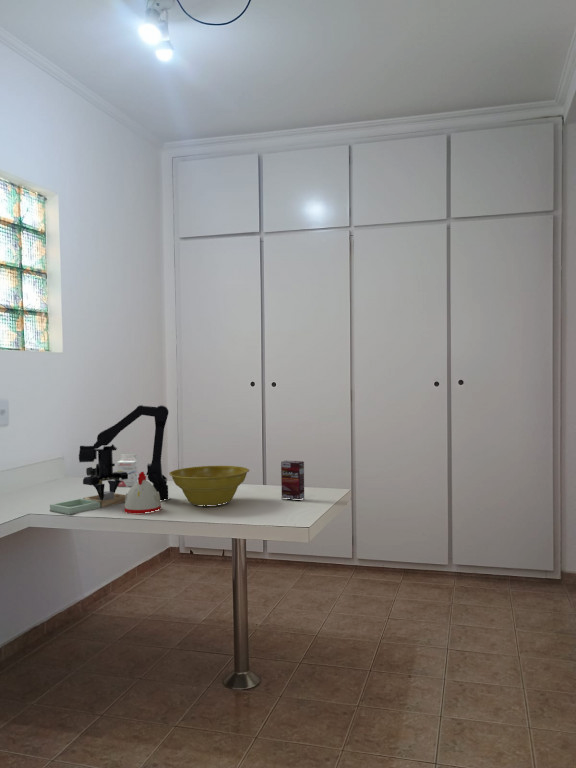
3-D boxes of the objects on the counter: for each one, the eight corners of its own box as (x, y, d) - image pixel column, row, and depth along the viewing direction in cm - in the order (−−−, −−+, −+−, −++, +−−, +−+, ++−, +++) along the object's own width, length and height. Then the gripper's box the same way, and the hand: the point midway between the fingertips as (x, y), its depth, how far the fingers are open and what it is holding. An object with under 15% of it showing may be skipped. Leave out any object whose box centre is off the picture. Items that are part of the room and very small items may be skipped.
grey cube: (114, 501, 274) (114, 492, 274) (105, 503, 271) (105, 493, 271) (107, 500, 277) (107, 491, 277) (98, 502, 274) (98, 492, 273)
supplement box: (281, 500, 273) (280, 461, 272) (286, 498, 277) (285, 460, 276) (299, 501, 269) (299, 462, 268) (305, 499, 273) (304, 461, 272)
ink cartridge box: (116, 486, 312) (116, 455, 311) (120, 484, 317) (119, 454, 316) (134, 486, 311) (133, 455, 311) (138, 484, 316) (137, 454, 315)
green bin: (100, 508, 264) (100, 501, 264) (69, 514, 253) (69, 508, 253) (80, 504, 272) (80, 498, 272) (50, 510, 261) (49, 504, 260)
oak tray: (130, 501, 276) (130, 495, 276) (102, 507, 264) (102, 501, 264) (110, 498, 284) (110, 492, 283) (82, 504, 272) (82, 498, 272)
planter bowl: (164, 499, 278) (163, 467, 278) (238, 493, 289) (237, 462, 288) (177, 515, 248) (176, 479, 247) (259, 507, 258) (259, 473, 258)
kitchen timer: (120, 514, 252) (118, 475, 252) (130, 506, 266) (129, 469, 265) (156, 514, 251) (155, 474, 251) (164, 506, 265) (163, 469, 265)
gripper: (111, 457, 286) (112, 493, 286) (74, 462, 271) (75, 500, 271) (128, 459, 279) (129, 495, 279) (91, 464, 264) (92, 503, 265)
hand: (106, 498), depth 274 cm, fingers closed on grey cube, 4 cm apart
